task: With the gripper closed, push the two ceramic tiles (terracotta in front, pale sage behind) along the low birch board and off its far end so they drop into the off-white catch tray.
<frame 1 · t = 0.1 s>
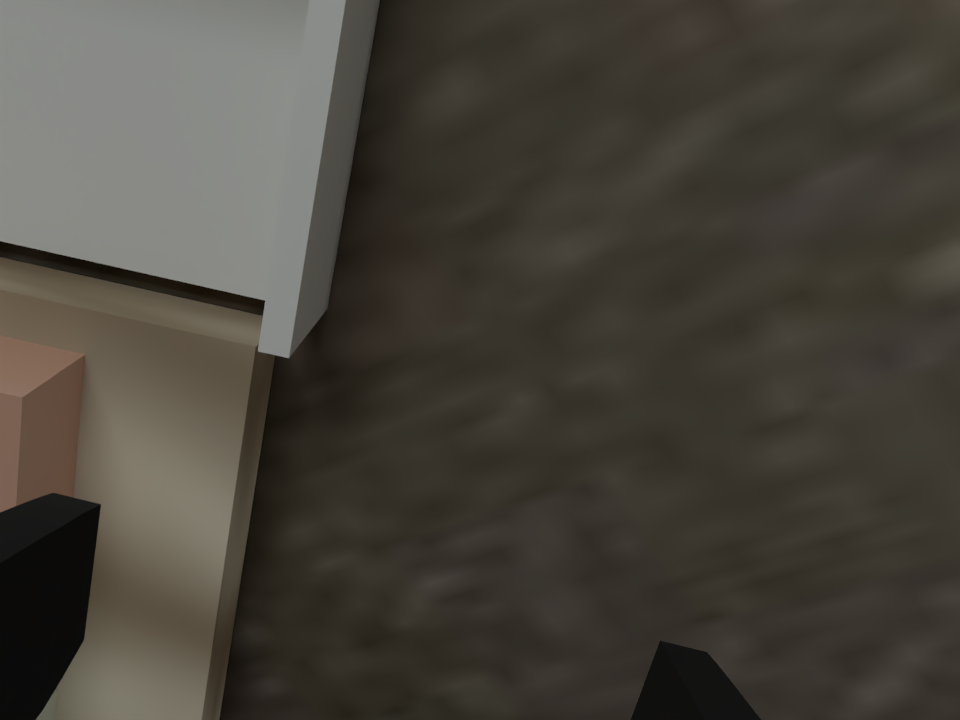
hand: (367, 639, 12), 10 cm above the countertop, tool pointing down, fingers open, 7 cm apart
board: (5, 529, 23), on the countertop
tray: (33, 5, 19), on the countertop
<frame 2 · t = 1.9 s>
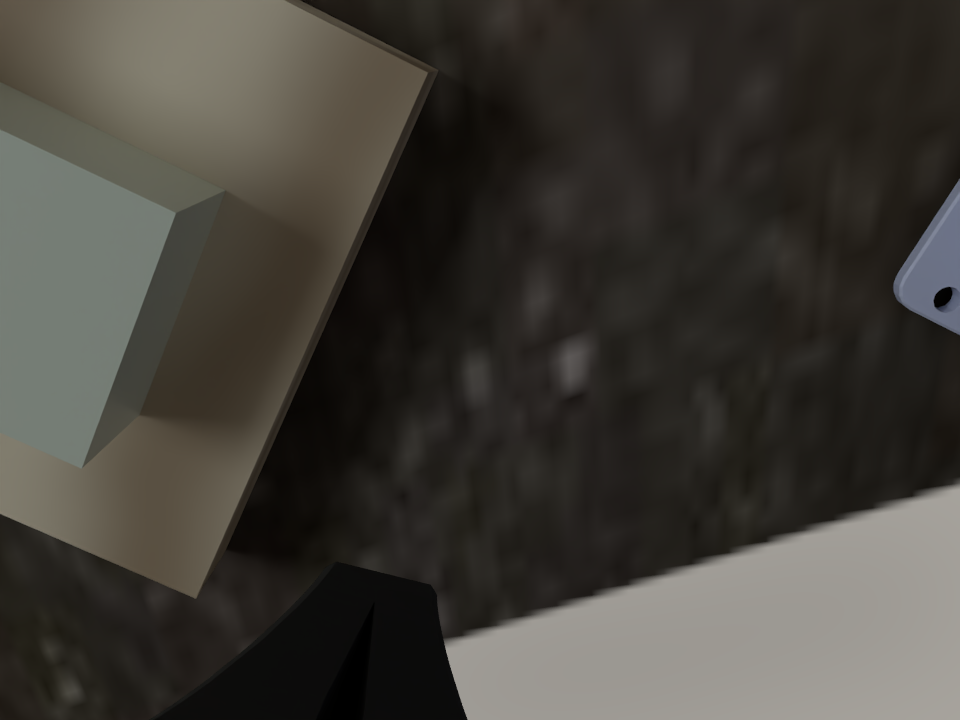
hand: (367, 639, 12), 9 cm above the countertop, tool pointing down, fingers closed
board: (14, 188, 19), on the countertop
tile sage: (58, 250, 17), point 2 cm above the countertop, touching board
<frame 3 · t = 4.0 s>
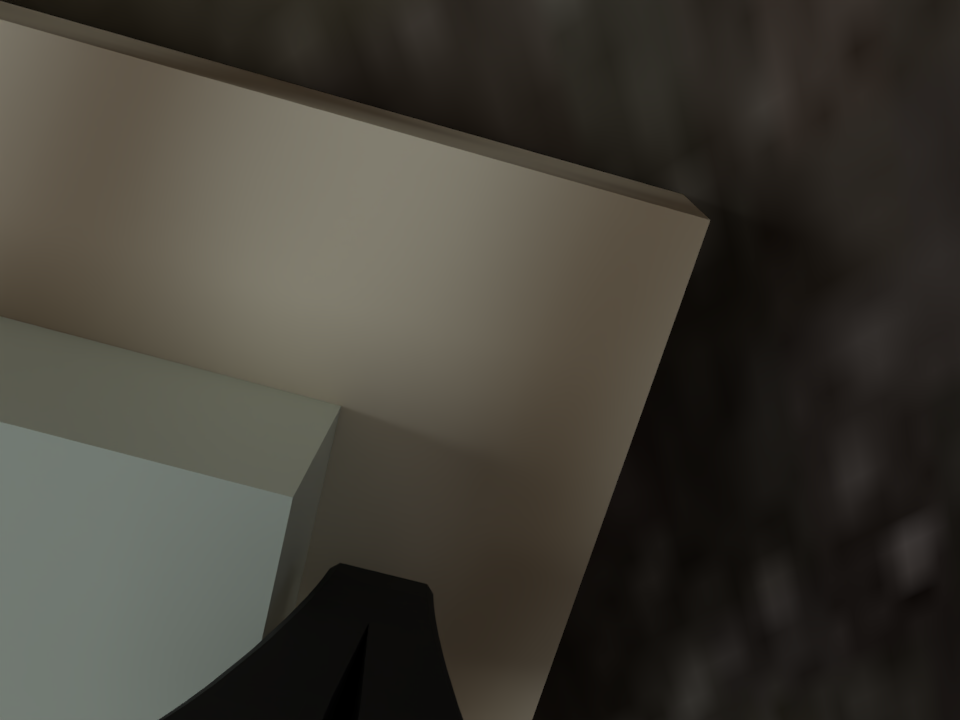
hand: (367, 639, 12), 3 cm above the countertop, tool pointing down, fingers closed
board: (117, 448, 14), on the countertop
tile sage: (120, 526, 12), point 2 cm above the countertop, touching gripper, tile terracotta
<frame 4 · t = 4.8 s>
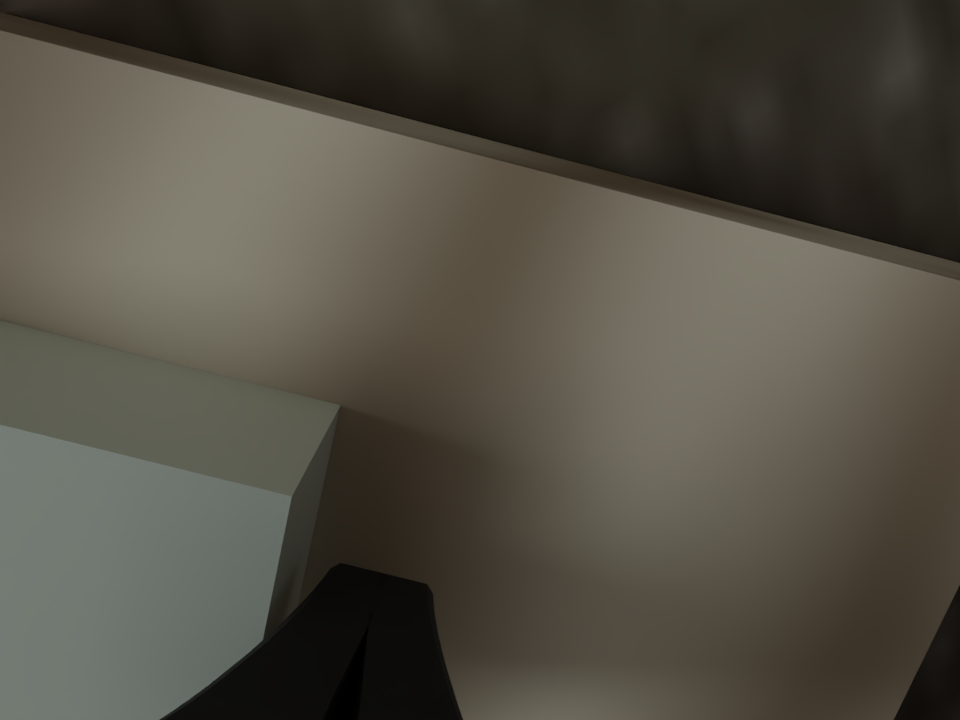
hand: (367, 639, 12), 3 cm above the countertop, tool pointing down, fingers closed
board: (414, 527, 14), on the countertop
tile sage: (122, 528, 12), point 2 cm above the countertop, touching gripper, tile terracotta
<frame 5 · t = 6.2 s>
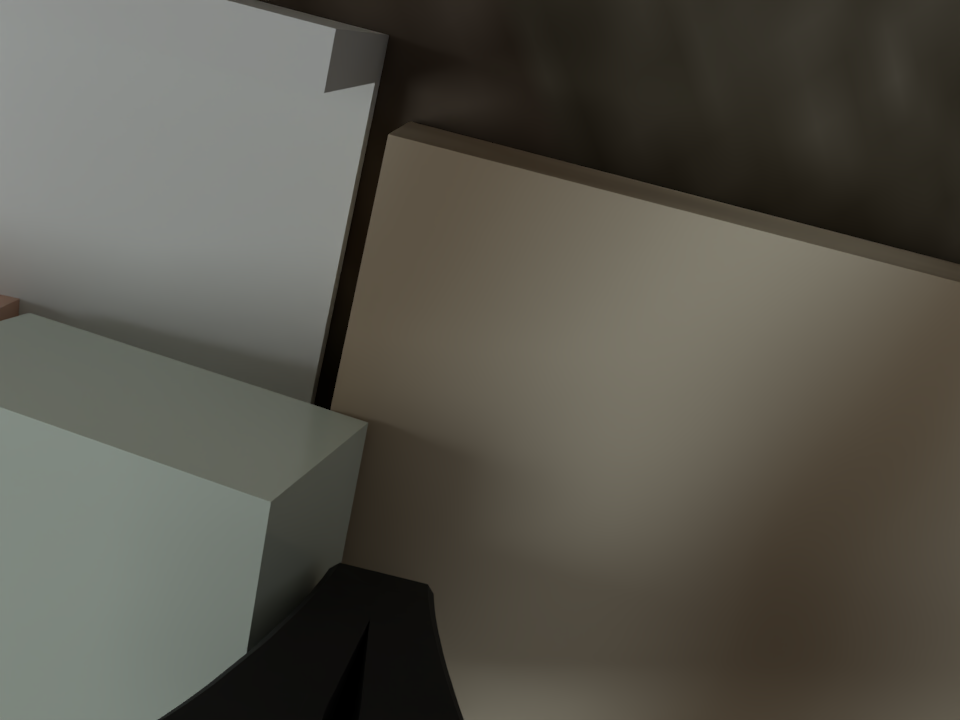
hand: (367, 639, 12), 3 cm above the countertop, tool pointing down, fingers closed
board: (759, 615, 14), on the countertop
tile sage: (171, 532, 13), point 2 cm above the countertop, tilted 13°, touching gripper, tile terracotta
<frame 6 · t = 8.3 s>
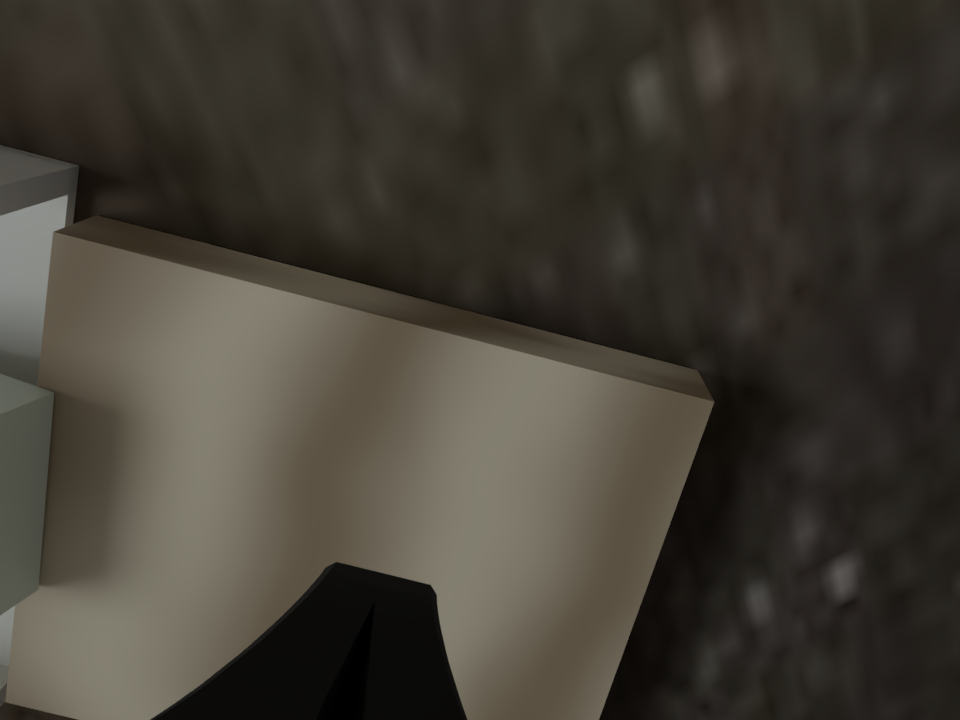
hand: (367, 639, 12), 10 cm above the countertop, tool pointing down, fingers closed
board: (347, 521, 23), on the countertop
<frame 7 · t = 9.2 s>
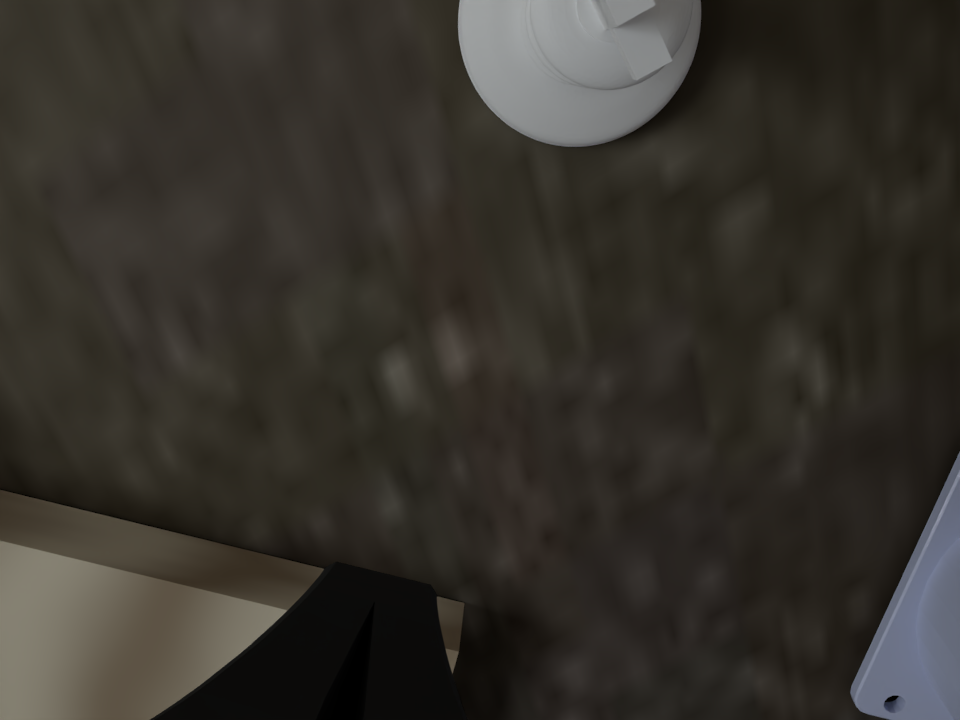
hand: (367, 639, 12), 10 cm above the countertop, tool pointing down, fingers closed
chess piece: (577, 24, 19), on the countertop
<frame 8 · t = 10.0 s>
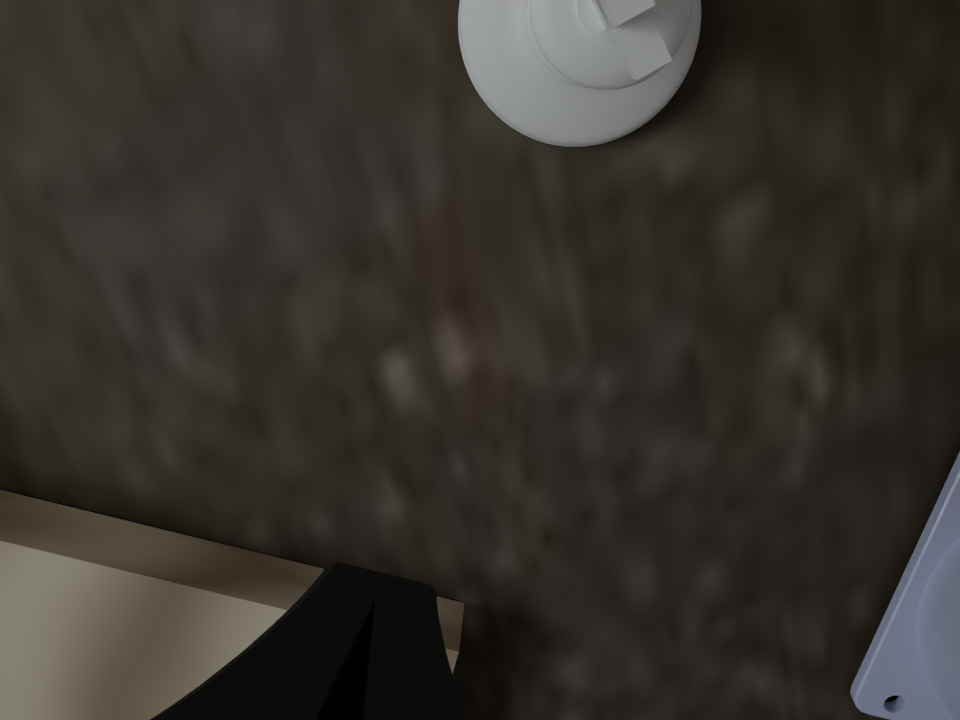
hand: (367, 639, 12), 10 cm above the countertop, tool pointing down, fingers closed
chess piece: (577, 24, 19), on the countertop
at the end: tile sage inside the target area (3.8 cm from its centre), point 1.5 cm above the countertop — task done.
